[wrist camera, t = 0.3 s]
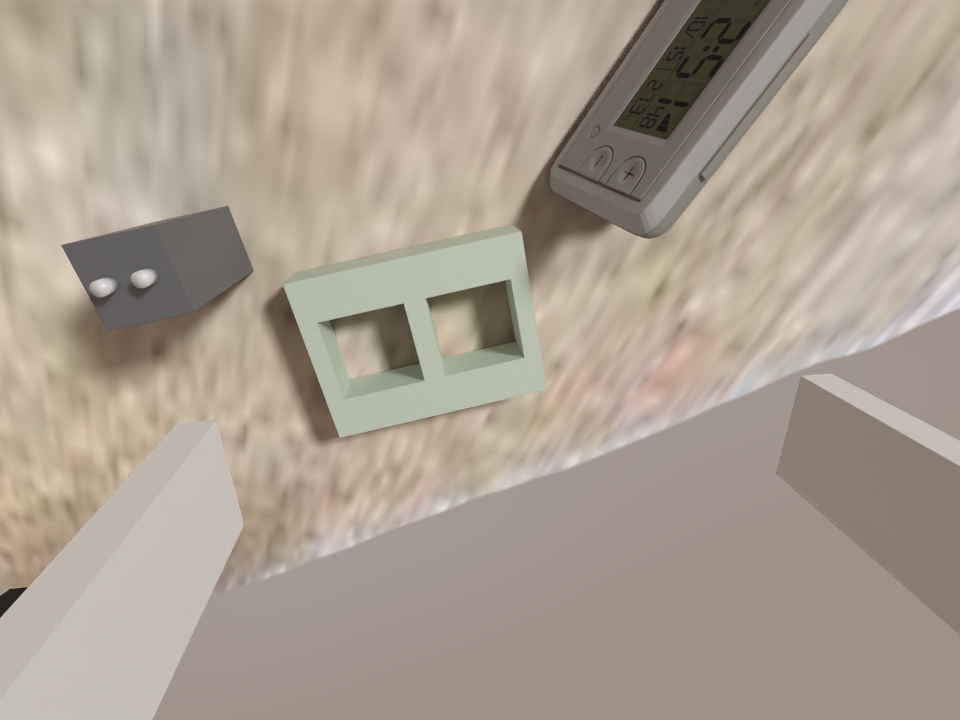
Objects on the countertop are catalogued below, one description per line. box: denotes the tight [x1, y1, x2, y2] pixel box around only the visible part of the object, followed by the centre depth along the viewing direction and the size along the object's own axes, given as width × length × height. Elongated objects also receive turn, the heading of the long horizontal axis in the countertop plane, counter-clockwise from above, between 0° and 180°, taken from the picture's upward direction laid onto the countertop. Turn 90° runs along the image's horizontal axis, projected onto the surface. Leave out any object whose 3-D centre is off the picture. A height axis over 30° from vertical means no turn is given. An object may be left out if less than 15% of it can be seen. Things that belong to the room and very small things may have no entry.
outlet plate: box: [283, 225, 547, 438], centre depth 36 cm, size 12×16×4 cm
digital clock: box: [550, 0, 848, 239], centre depth 29 cm, size 16×9×11 cm, turn 134°
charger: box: [61, 206, 253, 331], centre depth 28 cm, size 4×4×11 cm
